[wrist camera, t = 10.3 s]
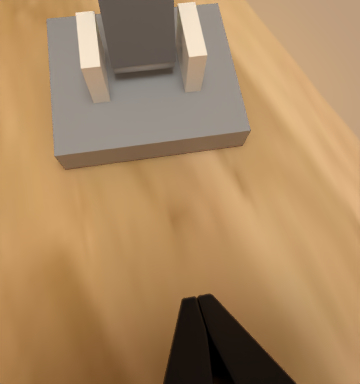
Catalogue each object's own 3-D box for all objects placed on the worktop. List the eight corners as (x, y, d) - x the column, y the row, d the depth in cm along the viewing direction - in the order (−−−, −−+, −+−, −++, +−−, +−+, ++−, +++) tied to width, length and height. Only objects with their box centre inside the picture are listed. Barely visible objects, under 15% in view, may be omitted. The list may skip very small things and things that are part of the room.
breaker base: (242, 145, 26) (266, 100, 20) (65, 169, 24) (32, 129, 18) (213, 26, 29) (226, -43, 23) (56, 42, 28) (26, -27, 22)
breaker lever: (177, 73, 23) (170, -87, 17) (113, 80, 22) (81, -82, 16) (172, 59, 25) (164, -91, 18) (112, 66, 24) (84, -86, 18)
